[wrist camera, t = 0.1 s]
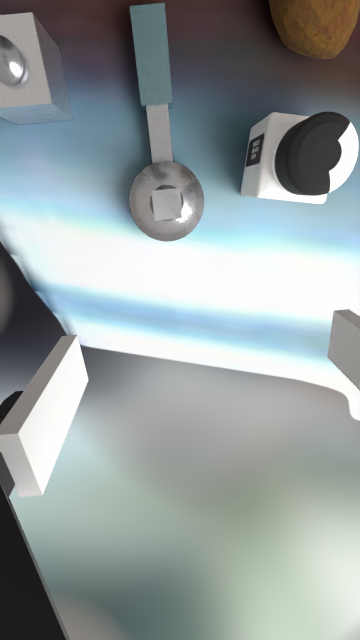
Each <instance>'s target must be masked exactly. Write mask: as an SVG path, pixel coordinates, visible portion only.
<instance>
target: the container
mask: <svg viewBox="0 0 360 640" xmlns="http://www.w3.org/2000/svg"><path fill="white" fill-rule="evenodd" d="M357 155H358V137H357V133H356V130H355V128H354V126H353V125H352V123H351V122H350V121H349V120H348V119H347V118H346V117H344V116H343V115H341V114H339V113H335V112H321V113H318V114H315V115H313V116H311V117H309V116H301V115H293V114H285V113H277V112H273V113H271V114H270V115H268V116H267V117H265V118H264V119H263V120H261V121H260V122H258V123H257V124H256V125H254V126H253V127H252V128H251V131H250V137H249V143H248V150H247V156H246V162H245V168H244V175H243V181H242V187H241V196H244V197H254V198H264V199H274V200H284V201H294V202H305V203H316V204H322V203H324V202H325V200H326V196H327V193H329V192H331V191H333V190H335V189H336V188H338V187H339V186H340V185H341V184H342V183H343V182H344V181H345V180H346V179H347V178H348V176H349V175H350V173H351V171H352V170H353V167H354V165H355V163H356V159H357Z"/></svg>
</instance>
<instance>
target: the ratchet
mask: <svg viewBox="0 0 360 640" xmlns="http://www.w3.org/2000/svg"><path fill="white" fill-rule="evenodd" d="M130 14H131V22H132V31H133V39H134V48H135V57H136V65H137V74H138V82H139V91H140V99H141V106H142V110H143V111H147V119H148V128H149V137H150V146H151V155H152V164H150V165H148V166H147V167H145V168H144V169H143V170H142V171H141V172H140V173H139V174H138V175H137V176H136V178H135V180H134V182H133V184H132V186H131V190H130V195H129V207H130V212H131V215H132V217H133V219H134V221H135V223H136V225H137V226H138V227H139V228H140V230H141V231H143V232H144V233H145V234H146V235H148V236H149V237H151V238H153V239H156V240H160V241H175V240H178V239H181V238H183V237H185V236H186V235H188V234H189V233H190V232H192V230H193V229H194V228H195V227H196V226H197V224H198V223H199V221H200V219H201V216H202V213H203V208H204V196H203V191H202V187H201V185H200V183H199V181H198V179H197V178H196V176H195V175H194V174H193V173H192V172H191V171H190V170H189V169H188V168H187V167H185V166H183V165H182V164H179V163H176V162H173V157H172V145H171V133H170V122H169V110H168V109H171V108H172V103H173V101H172V89H171V77H170V65H169V52H168V40H167V28H166V15H165V3H158V4H147V5H136V6H130Z"/></svg>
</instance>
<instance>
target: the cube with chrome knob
mask: <svg viewBox="0 0 360 640" xmlns="http://www.w3.org/2000/svg"><path fill="white" fill-rule="evenodd" d="M0 117H1V118H4V119H6V120H8V121H10V122H13V123H15V124H17V125H24V124H34V123H45V122H56V121H66V120H73V115H72V110H71V105H70V100H69V95H68V90H67V85H66V79H65V74H64V69H63V64H62V59H61V54H60V49H59V48H58V46H57V45H56V44H55V42H54V41H53V40H52V38H51V37H50V36H49V34H48V33H47V32H46V30H45V29H44V28H43V26H42V25H41V24H40V22H39V21H38V20H37V18H36V17H35V15H34V14H33V13H32V12H31V13H20V14H9V15H0Z"/></svg>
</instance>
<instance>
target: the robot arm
mask: <svg viewBox="0 0 360 640" xmlns="http://www.w3.org/2000/svg"><path fill="white" fill-rule="evenodd" d="M328 358H329V359H330V360H331V361H332V362H333V364H334V365H335V366H336V367H337V368H338V369H339V370H340V371H341V372H342V373H343V374H344V375H345V376H346V377H347V378H348V379H349V380H350V381H351V382H352V383H353V384H354V385H355V386H356V387H357V388H358V389H359V390H360V316H358V315H356V314H355V313H353V312H352V311H350V310H349V309H348V310H338V311H334V314H333V321H332V328H331V335H330V342H329V349H328ZM87 382H88V377H87V373H86V369H85V364H84V360H83V356H82V352H81V348H80V344H79V340H78V336H77V335H70V336H62V337H61V339H60V340H59V341H58V343H57V344H56V346H55V347H54V349H53V350H52V351H51V353H50V354H49V356H48V357H47V359H46V360H45V361H44V363H43V364H42V366H41V367H40V369H39V370H38V371H37V373H36V374H35V376H34V377H33V379H32V380H31V381H30V383H29V384H28V386H27V387H26V389H25V390H24V391H16V392H14V393H13V394H12V395H10V396H9V397H8V398H6V399H5V400H4V401H3V402H2V404H1V405H0V640H70V639H69V636H68V634H67V632H66V629H65V627H64V625H63V623H62V620H61V618H60V615H59V613H58V611H57V608H56V606H55V604H54V601H53V599H52V597H51V595H50V592H49V590H48V587H47V585H46V583H45V580H44V578H43V576H42V573H41V571H40V569H39V566H38V564H37V562H36V559H35V557H34V555H33V552H32V550H31V548H30V545H29V543H28V541H27V538H26V536H25V534H24V531H23V529H22V527H21V524H20V522H19V520H18V518H17V515H16V513H15V510H14V508H13V506H12V504H11V501H10V499H9V495H10V494H11V492H12V490H13V488H14V486H15V488H16V490H17V492H18V494H19V497H28V496H38V495H42V494H43V492H44V490H45V487H46V485H47V482H48V480H49V477H50V475H51V472H52V470H53V467H54V465H55V462H56V460H57V457H58V455H59V452H60V450H61V447H62V445H63V442H64V440H65V437H66V435H67V432H68V429H69V427H70V425H71V422H72V420H73V417H74V415H75V412H76V410H77V407H78V405H79V402H80V400H81V397H82V395H83V392H84V390H85V387H86V385H87Z"/></svg>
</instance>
